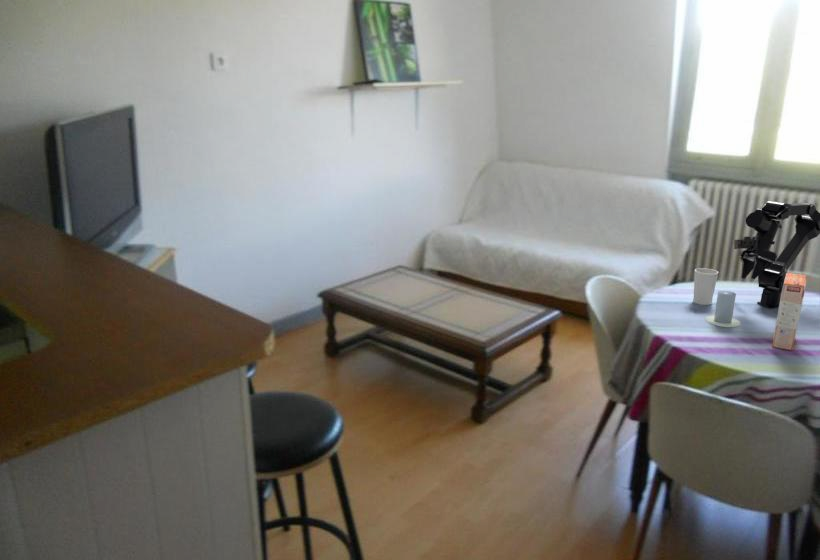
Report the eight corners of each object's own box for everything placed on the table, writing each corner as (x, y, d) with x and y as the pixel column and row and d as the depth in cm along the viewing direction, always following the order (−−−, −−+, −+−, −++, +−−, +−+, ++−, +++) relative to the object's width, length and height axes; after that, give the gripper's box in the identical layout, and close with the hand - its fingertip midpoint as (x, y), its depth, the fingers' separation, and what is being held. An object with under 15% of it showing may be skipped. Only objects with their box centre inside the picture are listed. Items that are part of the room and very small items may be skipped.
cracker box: (793, 351, 198) (805, 285, 192) (771, 347, 201) (782, 282, 195) (796, 337, 210) (807, 274, 204) (774, 333, 213) (785, 271, 207)
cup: (709, 299, 247) (714, 268, 243) (717, 306, 239) (721, 274, 236) (687, 298, 247) (691, 267, 244) (694, 305, 240) (698, 273, 236)
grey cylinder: (723, 317, 227) (727, 289, 224) (735, 322, 222) (739, 294, 219) (710, 319, 225) (714, 291, 222) (722, 324, 220) (726, 296, 217)
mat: (723, 314, 230) (723, 314, 230) (747, 325, 220) (748, 324, 220) (697, 318, 227) (697, 317, 227) (721, 328, 217) (721, 328, 217)
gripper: (732, 229, 237) (716, 270, 238) (752, 226, 219) (734, 270, 220) (762, 240, 236) (746, 281, 237) (785, 238, 217) (767, 282, 218)
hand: (747, 278), depth 228 cm, fingers open, 9 cm apart
